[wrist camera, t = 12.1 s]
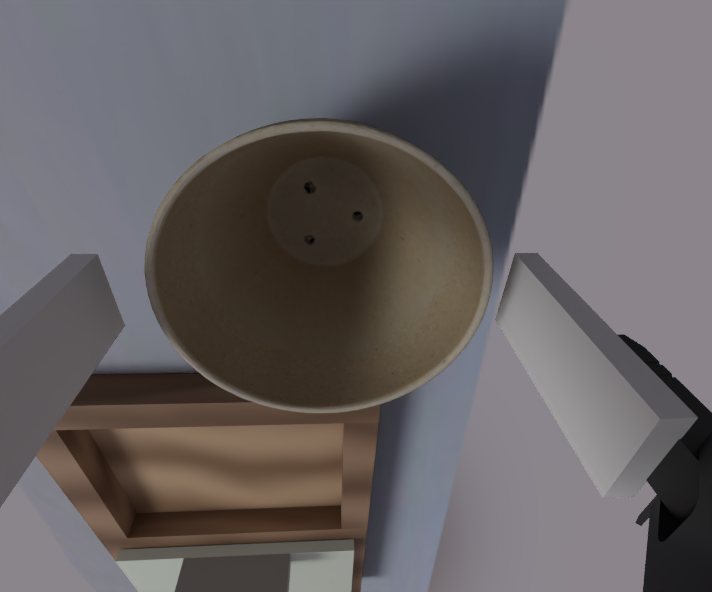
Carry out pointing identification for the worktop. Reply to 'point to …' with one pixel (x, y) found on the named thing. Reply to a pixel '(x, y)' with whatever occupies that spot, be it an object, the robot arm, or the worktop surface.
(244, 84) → the worktop surface
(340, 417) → the wooden box
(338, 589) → the lid
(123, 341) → the worktop surface
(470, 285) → the flower pot
